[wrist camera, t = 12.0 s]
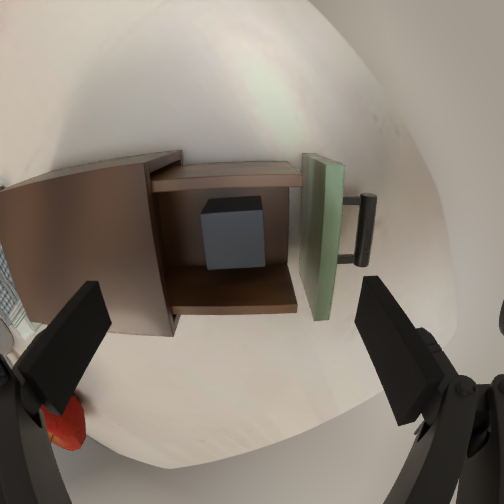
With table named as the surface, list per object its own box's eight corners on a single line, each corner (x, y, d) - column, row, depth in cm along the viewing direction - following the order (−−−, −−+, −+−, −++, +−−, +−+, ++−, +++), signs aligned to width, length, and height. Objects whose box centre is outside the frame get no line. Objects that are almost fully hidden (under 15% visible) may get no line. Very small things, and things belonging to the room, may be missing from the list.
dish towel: (2, 180, 23) (-14, 186, 20) (78, 289, 29) (65, 303, 27) (-31, 254, 27) (-42, 262, 25) (29, 336, 34) (20, 348, 31)
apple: (106, 409, 41) (87, 460, 30) (80, 415, 43) (63, 458, 32) (61, 371, 37) (34, 422, 26) (41, 382, 39) (17, 424, 28)
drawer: (360, 156, 23) (403, 169, 16) (350, 270, 27) (378, 315, 20) (150, 160, 23) (110, 175, 16) (165, 274, 28) (141, 322, 20)
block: (260, 195, 23) (262, 209, 19) (263, 243, 25) (265, 267, 21) (208, 198, 23) (199, 213, 19) (213, 246, 25) (207, 270, 21)
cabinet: (182, 150, 23) (143, 162, 15) (194, 275, 29) (173, 337, 20) (50, 171, 24) (-11, 194, 15) (73, 275, 29) (29, 321, 20)
